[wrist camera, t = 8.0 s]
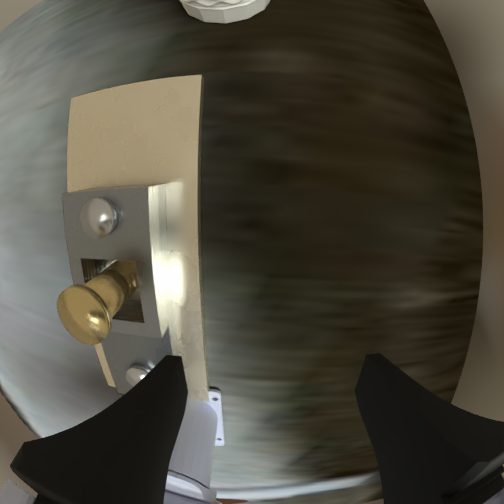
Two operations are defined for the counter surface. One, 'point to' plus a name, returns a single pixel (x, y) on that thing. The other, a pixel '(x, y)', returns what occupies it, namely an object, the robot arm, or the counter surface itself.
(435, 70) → the counter surface
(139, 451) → the robot arm
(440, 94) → the counter surface
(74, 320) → the brass knob
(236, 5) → the white cup
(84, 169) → the door lock with knob
